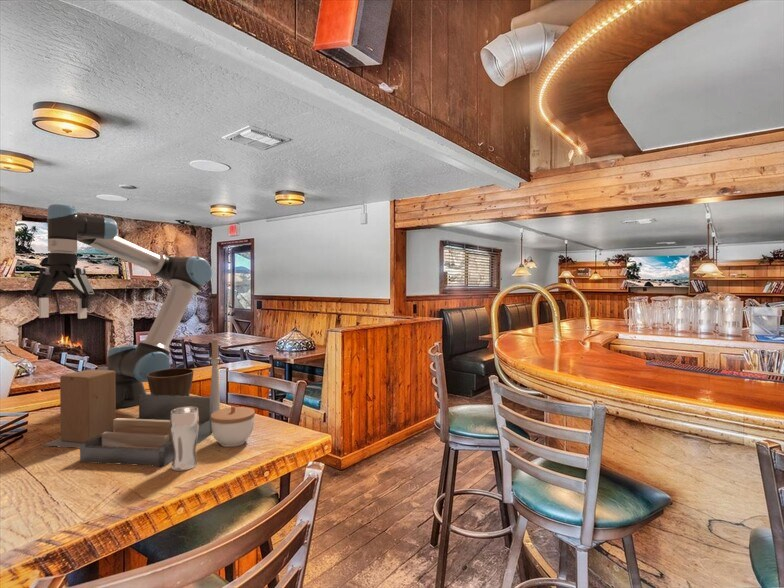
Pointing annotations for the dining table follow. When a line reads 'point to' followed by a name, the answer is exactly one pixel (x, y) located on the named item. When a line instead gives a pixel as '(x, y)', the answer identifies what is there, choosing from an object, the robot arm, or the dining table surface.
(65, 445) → the mat
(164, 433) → the offcut stack
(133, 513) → the dining table surface
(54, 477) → the dining table surface
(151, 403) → the rack
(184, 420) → the beer glass
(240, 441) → the lidded bowl
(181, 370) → the plant pot
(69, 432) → the wooden block
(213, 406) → the candlestick
